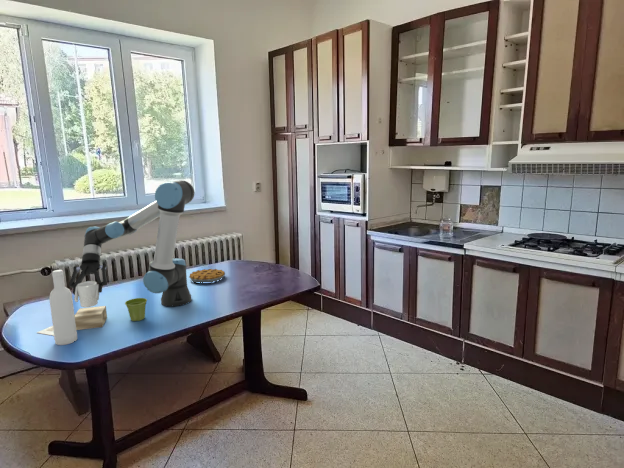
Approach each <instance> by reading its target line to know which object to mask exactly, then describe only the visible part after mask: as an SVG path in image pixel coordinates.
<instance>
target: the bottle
mask: <svg viewBox="0 0 624 468" xmlns="http://www.w3.org/2000/svg"><path fill="white" fill-rule="evenodd" d="M51 277H52V281H53V289H52V290H51V292H50V293H49V297H48V298H49V306H50V315H51V320H52V326H53V330H54V342H55V345H58V346H65V345H70V344H73V343H74V341H75V342H76V341H77V340H78V332H77V331H78V330H76V323H75V308H74V301H73V300H74V298H73V292H71V289H70V288H68V287H66V286H65V285H66V284H65V278H64V271H63V270H62V269H56V270H53V271H51Z"/></svg>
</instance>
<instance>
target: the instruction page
mask: <svg viewBox="0 0 624 468" xmlns="http://www.w3.org/2000/svg"><path fill="white" fill-rule="evenodd" d="M36 334H39V335H40V334H41V335H45V336H51V335H52V336H51V337H53V336H54V330H53V325H50V326H49V327H46V328H44V329H41V330H39V331H36Z"/></svg>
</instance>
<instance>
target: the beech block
mask: <svg viewBox="0 0 624 468" xmlns="http://www.w3.org/2000/svg"><path fill="white" fill-rule="evenodd" d="M107 312H108V311H107V305H102V306H92V307H79V309H78V310H77V311H76V312H75V313H74V315H75V323H76V331H79V330H86V329H87V330H89V329H90V330H91V329H97V328H103V327H104V325H105V322H106V321H107V318H108V313H107Z"/></svg>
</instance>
